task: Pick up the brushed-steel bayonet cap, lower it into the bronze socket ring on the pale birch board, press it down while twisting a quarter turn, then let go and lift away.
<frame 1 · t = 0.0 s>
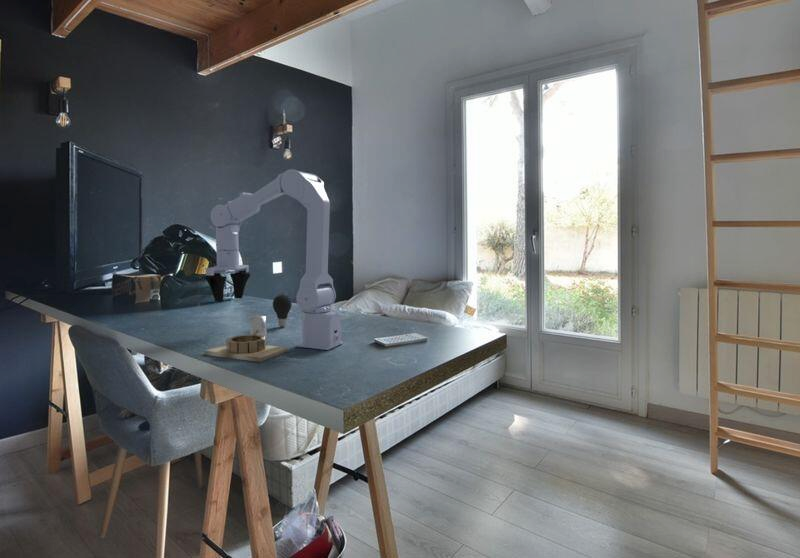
hand: (228, 299, 127), 10 cm above the table, tool pointing down, fingers open, 7 cm apart
socket base: (246, 353, 109), on the table
light bulb: (282, 327, 141), on the table
bayonet cap: (258, 343, 120), on the table
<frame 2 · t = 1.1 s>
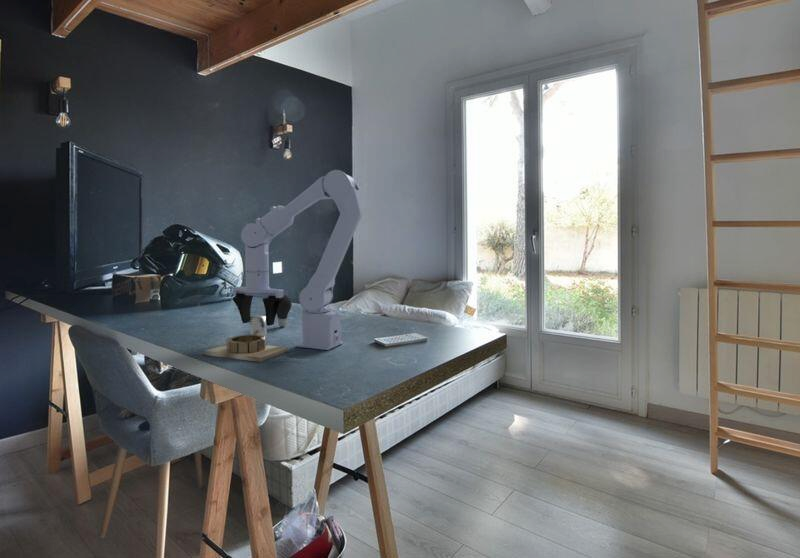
hand: (258, 323, 119), 5 cm above the table, tool pointing down, fingers open, 7 cm apart
nothing on the table moved.
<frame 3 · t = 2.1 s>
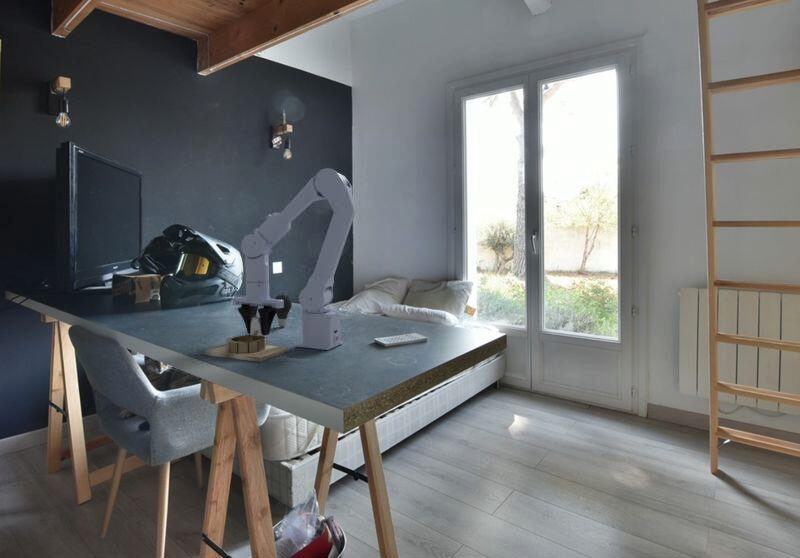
hand: (258, 334, 119), 2 cm above the table, tool pointing down, fingers closed on bayonet cap, 4 cm apart
bayonet cap: (258, 343, 120), on the table, touching gripper
everything else where it was.
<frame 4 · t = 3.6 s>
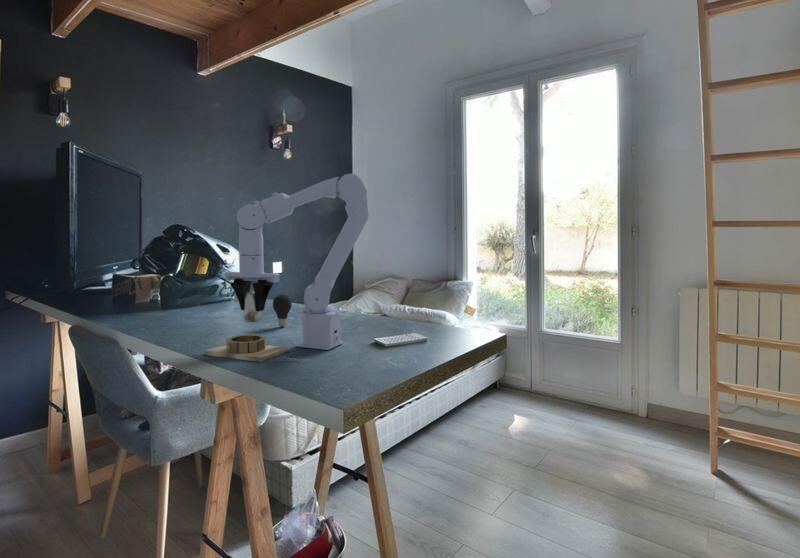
hand: (252, 310, 114), 9 cm above the table, tool pointing down, fingers closed on bayonet cap, 4 cm apart
bayonet cap: (253, 320, 115), point 7 cm above the table, touching gripper
everything else where it was.
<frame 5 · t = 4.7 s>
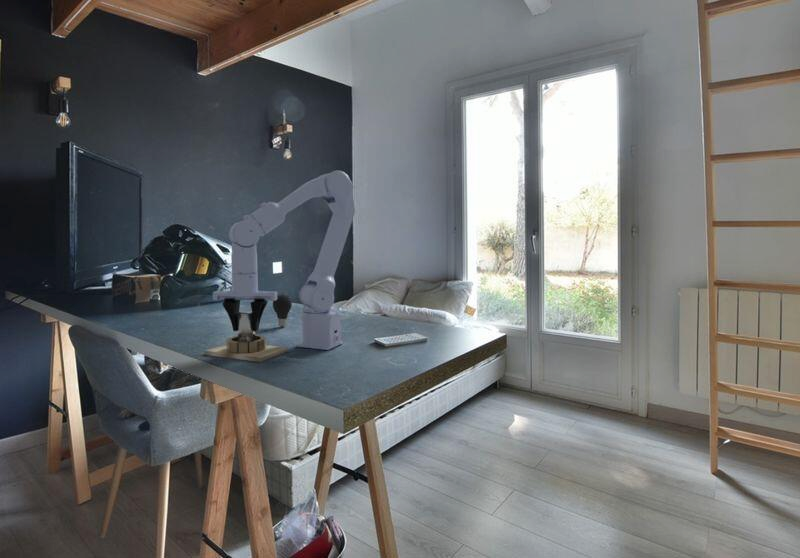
hand: (246, 330, 109), 5 cm above the table, tool pointing down, fingers closed on bayonet cap, 4 cm apart
bayonet cap: (246, 341, 109), point 3 cm above the table, touching gripper
everything else where it was.
when the fingers open (4 cm above the table, at t = 5.6 s): bayonet cap stays where it is, resting on socket base.
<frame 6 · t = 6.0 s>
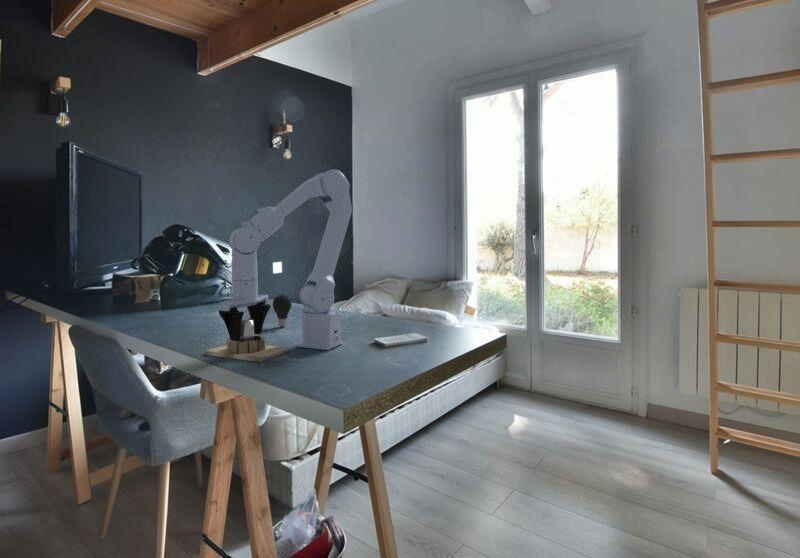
hand: (246, 336, 109), 4 cm above the table, tool pointing down, fingers open, 7 cm apart
bayonet cap: (245, 348, 109), point 1 cm above the table, touching socket base
everything else where it was.
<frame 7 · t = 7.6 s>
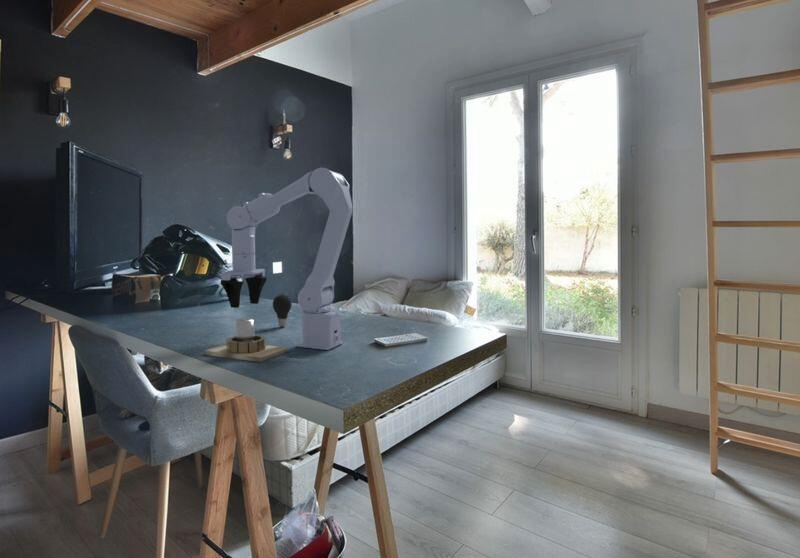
hand: (244, 305, 122), 9 cm above the table, tool pointing down, fingers open, 7 cm apart
nothing on the table moved.
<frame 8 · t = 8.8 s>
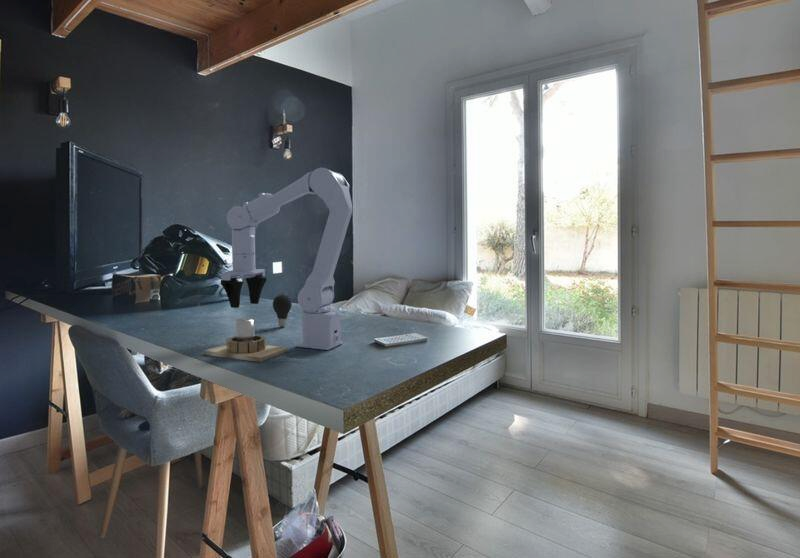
hand: (245, 305, 122), 9 cm above the table, tool pointing down, fingers open, 7 cm apart
nothing on the table moved.
at the end: bayonet cap 0.2 cm off-centre on the socket base, point 1.0 cm above the socket base's base; bayonet cap tilted 0°; the gripper is holding nothing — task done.
